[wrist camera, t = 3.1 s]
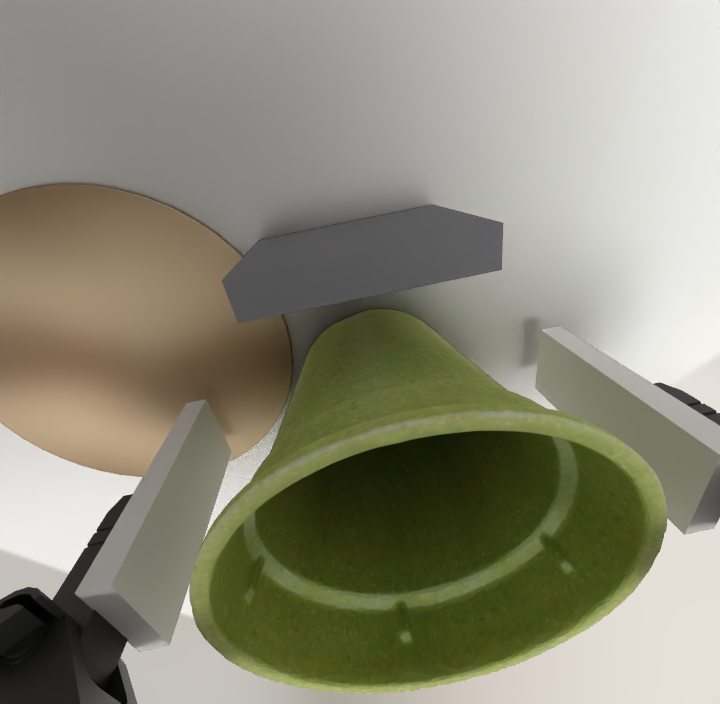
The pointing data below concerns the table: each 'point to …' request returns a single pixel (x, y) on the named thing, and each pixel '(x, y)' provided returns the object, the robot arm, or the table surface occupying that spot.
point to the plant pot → (420, 523)
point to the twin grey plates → (361, 260)
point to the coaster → (125, 329)
